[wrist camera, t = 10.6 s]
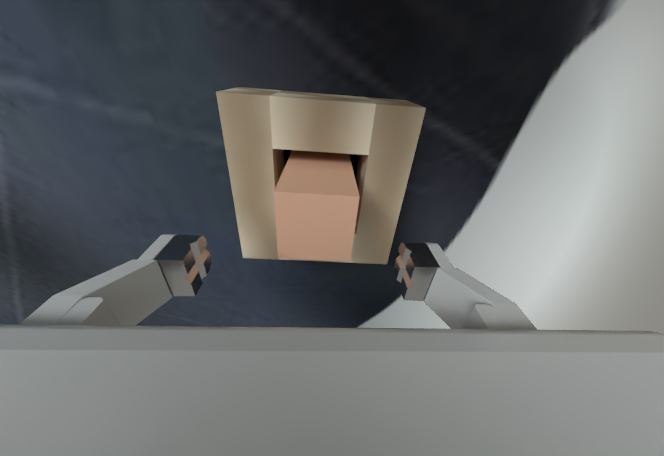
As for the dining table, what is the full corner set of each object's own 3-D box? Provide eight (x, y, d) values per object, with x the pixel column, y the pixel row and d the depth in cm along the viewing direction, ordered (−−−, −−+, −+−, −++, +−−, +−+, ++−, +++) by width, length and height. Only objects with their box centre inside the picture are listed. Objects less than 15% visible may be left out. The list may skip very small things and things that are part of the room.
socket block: (256, 228, 22) (243, 257, 18) (239, 87, 16) (215, 91, 13) (377, 235, 22) (386, 264, 19) (406, 100, 16) (426, 107, 13)
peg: (294, 195, 20) (277, 258, 13) (294, 146, 18) (273, 191, 11) (342, 198, 20) (350, 261, 14) (348, 149, 18) (359, 196, 12)
